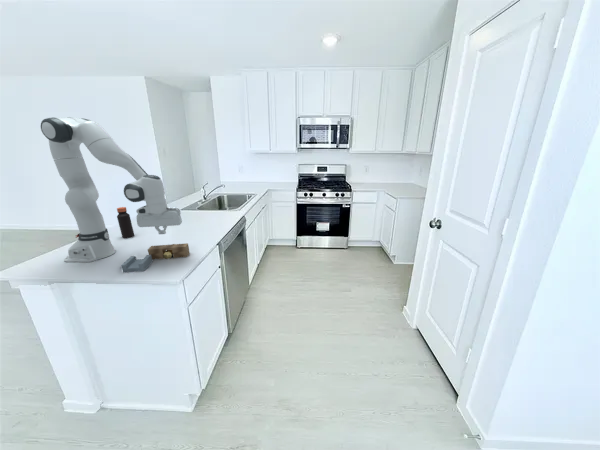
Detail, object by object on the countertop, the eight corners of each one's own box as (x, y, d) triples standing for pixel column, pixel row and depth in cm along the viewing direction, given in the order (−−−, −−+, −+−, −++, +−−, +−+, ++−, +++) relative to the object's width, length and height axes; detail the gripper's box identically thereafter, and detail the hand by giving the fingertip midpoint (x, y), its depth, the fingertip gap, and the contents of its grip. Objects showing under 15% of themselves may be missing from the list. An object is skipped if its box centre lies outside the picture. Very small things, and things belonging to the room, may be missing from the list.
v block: (144, 270, 119) (142, 263, 118) (123, 272, 118) (121, 265, 117) (152, 261, 129) (151, 254, 128) (132, 263, 127) (131, 256, 126)
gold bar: (172, 258, 132) (169, 251, 131) (165, 260, 132) (161, 253, 130) (178, 249, 143) (176, 243, 142) (172, 251, 143) (169, 245, 141)
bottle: (119, 238, 162) (112, 208, 156) (129, 234, 168) (122, 206, 162) (127, 239, 160) (120, 209, 154) (136, 235, 166) (130, 207, 160)
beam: (149, 259, 131) (147, 249, 129) (153, 255, 135) (151, 245, 134) (187, 256, 134) (185, 246, 132) (189, 253, 138) (187, 243, 137)
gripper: (181, 205, 127) (185, 230, 131) (138, 207, 123) (144, 233, 128) (177, 208, 121) (181, 234, 125) (132, 210, 117) (138, 237, 122)
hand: (162, 233), depth 126 cm, fingers closed
